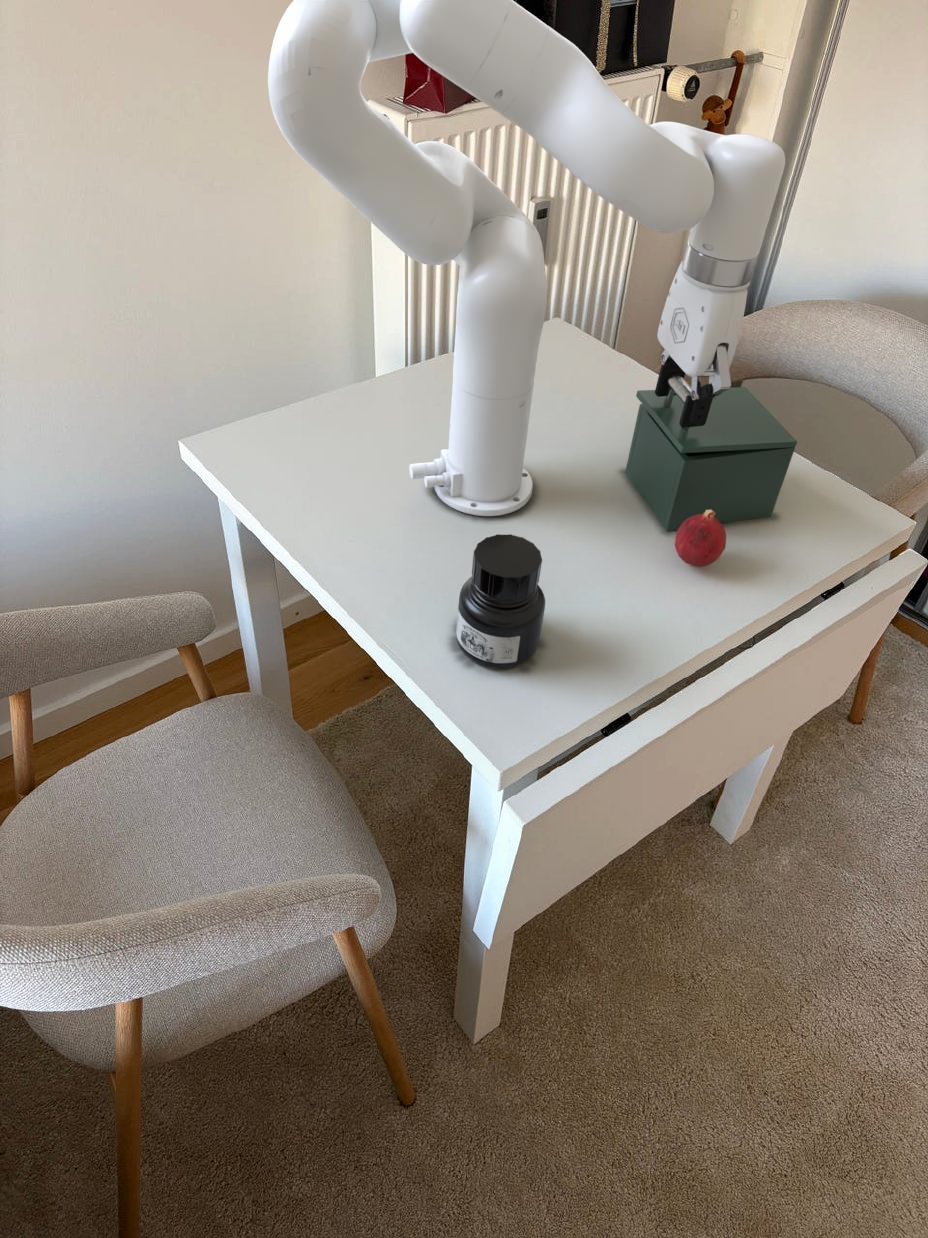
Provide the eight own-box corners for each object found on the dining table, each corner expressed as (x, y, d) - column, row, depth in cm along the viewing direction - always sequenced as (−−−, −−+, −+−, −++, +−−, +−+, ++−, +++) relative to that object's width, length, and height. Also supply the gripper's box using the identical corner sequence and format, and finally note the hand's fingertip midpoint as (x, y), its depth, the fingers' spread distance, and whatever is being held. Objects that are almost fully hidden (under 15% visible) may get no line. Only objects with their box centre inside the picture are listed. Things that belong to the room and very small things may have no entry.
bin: (666, 531, 122) (684, 461, 115) (624, 472, 131) (639, 403, 123) (771, 516, 126) (795, 447, 118) (723, 460, 134) (743, 392, 127)
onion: (706, 587, 115) (723, 533, 109) (661, 568, 117) (675, 514, 111) (724, 561, 118) (741, 508, 113) (680, 543, 120) (695, 490, 115)
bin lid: (681, 453, 114) (694, 413, 110) (635, 395, 122) (646, 357, 119) (795, 447, 118) (811, 409, 115) (743, 392, 127) (757, 355, 124)
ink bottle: (436, 636, 106) (441, 549, 98) (493, 600, 110) (503, 514, 102) (501, 686, 101) (512, 600, 93) (558, 646, 106) (574, 561, 98)
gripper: (653, 231, 110) (622, 375, 122) (724, 302, 98) (681, 453, 111) (713, 229, 112) (676, 371, 124) (790, 298, 100) (740, 447, 113)
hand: (679, 408), depth 117 cm, fingers closed on bin lid, 6 cm apart
